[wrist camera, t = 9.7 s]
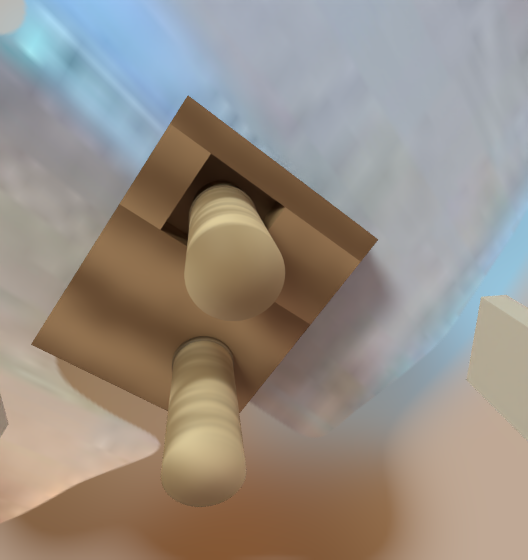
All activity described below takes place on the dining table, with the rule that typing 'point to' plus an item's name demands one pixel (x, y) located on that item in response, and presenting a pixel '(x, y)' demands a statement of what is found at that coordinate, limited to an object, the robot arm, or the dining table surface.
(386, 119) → the dining table surface
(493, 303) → the robot arm
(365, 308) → the dining table surface
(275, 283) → the beech peg
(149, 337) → the board
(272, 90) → the dining table surface
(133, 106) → the dining table surface
